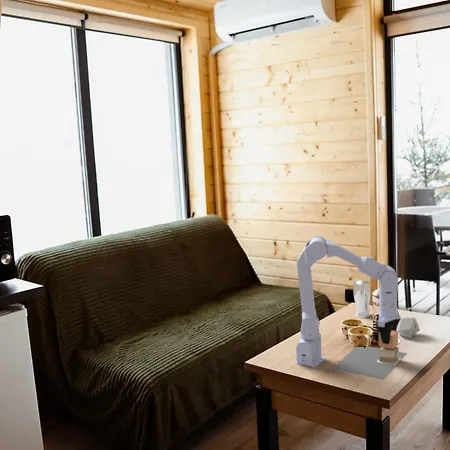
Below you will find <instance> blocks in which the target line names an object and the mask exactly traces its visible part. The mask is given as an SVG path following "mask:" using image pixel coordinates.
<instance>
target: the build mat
mask: <svg viewBox="0 0 450 450" xmlns="http://www.w3.org/2000/svg"><path fill="white" fill-rule="evenodd" d="M380 348H381V347H373V346H369V347H365V348H364V347H357V346H355V347H354V348H353V349H352V350H351V351H350V352H349V353H348V354H346V356H344V357H343V358H342V359H341V360H340V361H338V362H337V363H336V364H335V365H334V366H333V367H332V368H331V369H332V370H336V371H340V372H346V373H350V374H354V375H360V376H364V377H365V376H366V377H370V378H375V379H379V380H383V381H384V380H385V379H386V378H387V377H388V375H390V373H392V371H393V370H394V369H395V368H396V366H397V365H398V364H400V362H401V361H402V360H403V358H404V357H405V356H406V355H407V354H408V353H407V352H403V351H402V352H401V351H399V359H398V360H397V361H396V363H395V364H389V363H384V362H379V349H380Z"/></svg>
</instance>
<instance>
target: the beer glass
mask: <svg viewBox="0 0 450 450" xmlns="http://www.w3.org/2000/svg"><path fill="white" fill-rule="evenodd" d="M353 297H354V298H353V299H354V303H355V313H354V315H355V317H356V318H360V319H366V318H369V317H370V316H371V315H370V310H369V306H370V298H371V286H370V280H365V279H360V280H355V281H353Z"/></svg>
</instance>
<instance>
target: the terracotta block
mask: <svg viewBox="0 0 450 450" xmlns="http://www.w3.org/2000/svg"><path fill="white" fill-rule="evenodd" d="M398 344H399V332H398V330H396V331H394V330H392V331H391V335H390V342H389V344H384V343H382V339H381V336H380V333H379V332H378V346H379V347H387V348H394V347H395V346H397V345H398Z"/></svg>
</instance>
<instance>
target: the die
mask: <svg viewBox="0 0 450 450" xmlns="http://www.w3.org/2000/svg"><path fill="white" fill-rule="evenodd" d="M397 331H398V335H400V336H402V337H404V338H408V339H411V338H412V337H414V336H415V335H416V334H417V333H418V332H419V331H421V329H420V327H419V323H418V321H417V319H416V317H415V316H412V315H408V314H403V315H402V316H401V320H400V321H399V323H398V326H397Z"/></svg>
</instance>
